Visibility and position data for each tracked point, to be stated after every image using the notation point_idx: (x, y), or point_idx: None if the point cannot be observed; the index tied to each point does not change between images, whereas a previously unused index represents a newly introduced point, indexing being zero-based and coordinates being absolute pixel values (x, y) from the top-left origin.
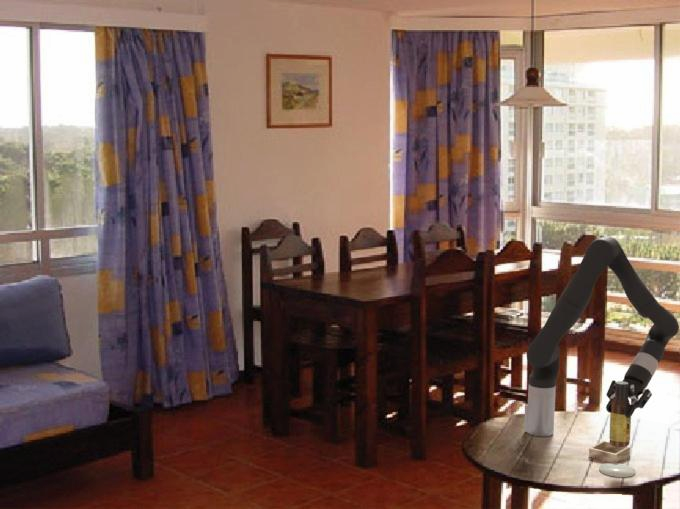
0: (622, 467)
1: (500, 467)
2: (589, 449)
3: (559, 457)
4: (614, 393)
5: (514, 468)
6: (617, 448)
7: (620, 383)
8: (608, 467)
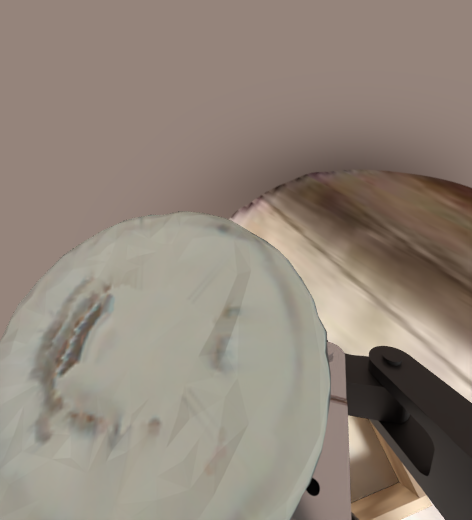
0: None
1: (352, 182)
2: None
3: (373, 306)
4: (343, 392)
5: (340, 196)
6: (366, 509)
7: (136, 262)
8: None
